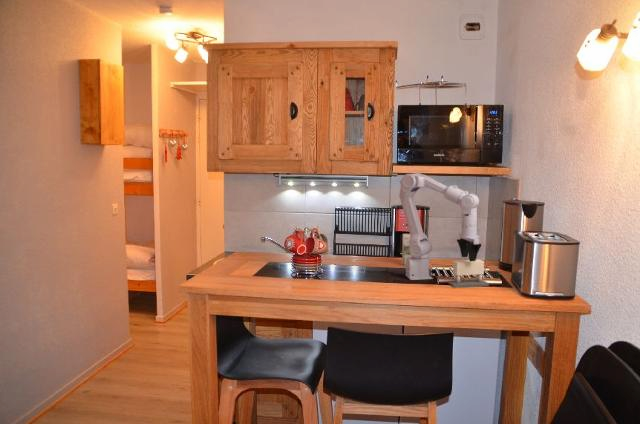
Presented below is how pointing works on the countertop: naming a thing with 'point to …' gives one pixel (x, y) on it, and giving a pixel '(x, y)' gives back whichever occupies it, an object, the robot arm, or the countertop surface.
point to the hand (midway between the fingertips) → (468, 259)
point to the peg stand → (468, 282)
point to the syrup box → (405, 248)
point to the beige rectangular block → (468, 267)
